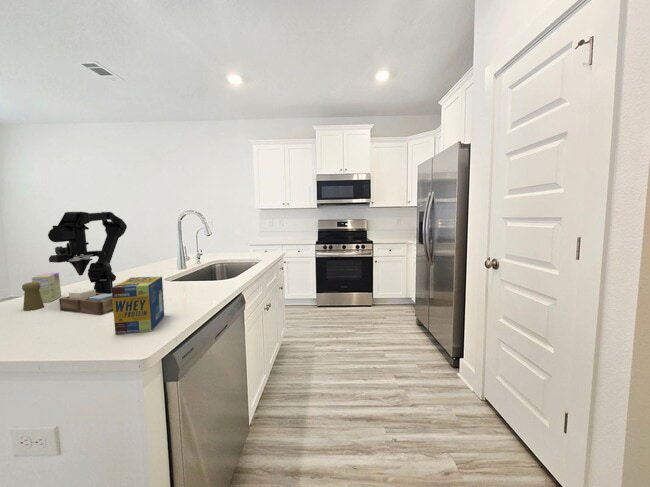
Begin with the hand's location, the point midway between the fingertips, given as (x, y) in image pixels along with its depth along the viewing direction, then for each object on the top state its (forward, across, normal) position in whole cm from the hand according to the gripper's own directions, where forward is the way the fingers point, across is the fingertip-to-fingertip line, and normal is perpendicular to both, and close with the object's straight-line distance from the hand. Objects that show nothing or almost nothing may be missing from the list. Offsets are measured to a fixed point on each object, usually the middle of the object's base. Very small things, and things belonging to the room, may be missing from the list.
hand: (80, 275), depth 122 cm
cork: (+12, +12, -10) cm, 20 cm away
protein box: (+12, +14, +50) cm, 53 cm away
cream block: (+9, +6, +10) cm, 14 cm away
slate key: (+10, +6, +21) cm, 24 cm away
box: (+12, +2, -19) cm, 23 cm away
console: (+12, +6, +15) cm, 20 cm away
